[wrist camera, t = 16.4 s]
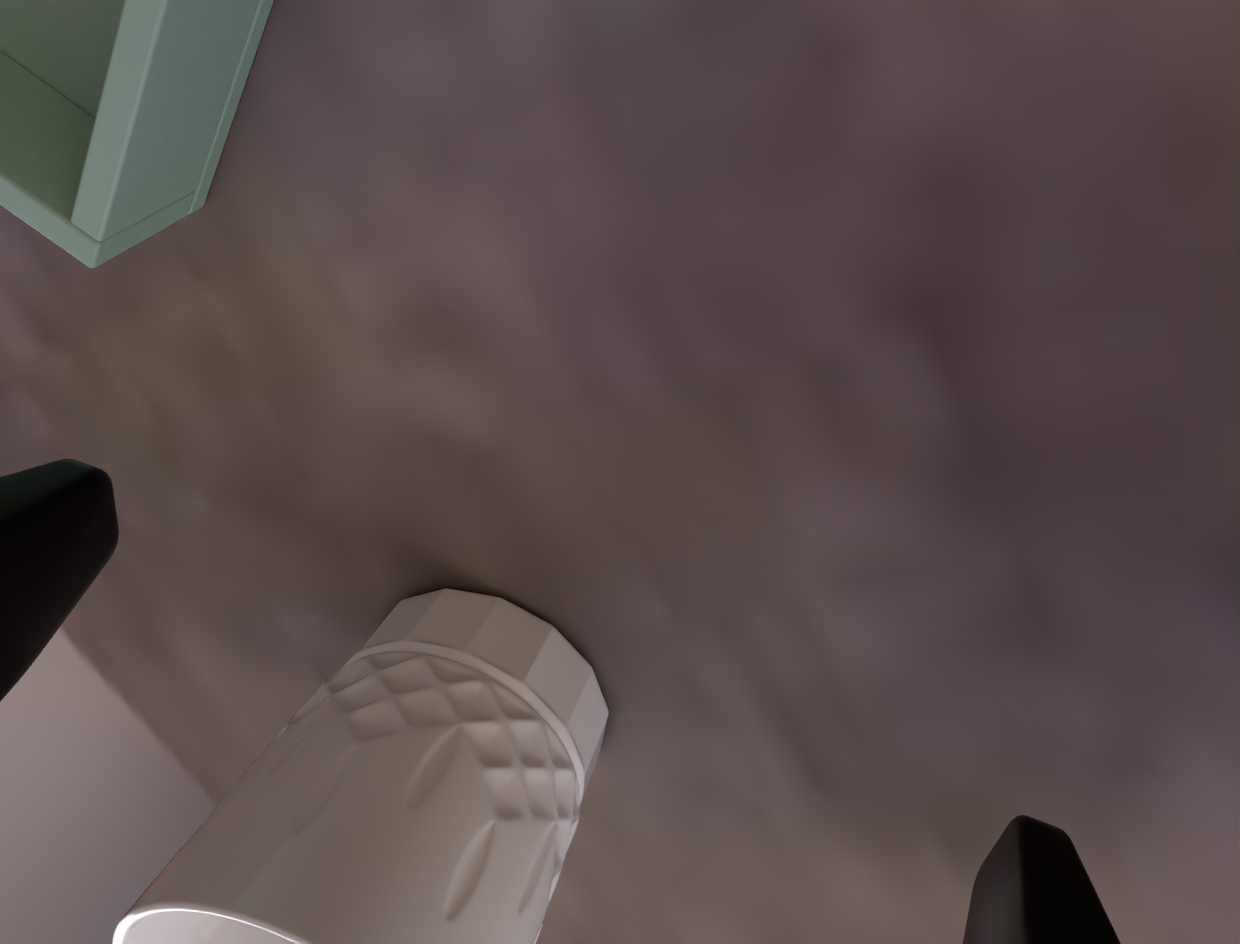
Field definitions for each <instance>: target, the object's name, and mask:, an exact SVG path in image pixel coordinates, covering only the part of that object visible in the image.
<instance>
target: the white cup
mask: <svg viewBox="0 0 1240 944" xmlns="http://www.w3.org/2000/svg"><path fill="white" fill-rule="evenodd" d="M608 715H609V711H608V708H607V705H606V703H605V700H604V697H603V695H602V692H601V689H600V687H599V684H598V681H597V679H596V676H595V673H594V671H593V668H592V667H591V665H590V664H589V663H588V662H587V661H586V660H585V659H584V658H583V657H582V656H581V655H580V654H579V652H578V651H577V650H576V649H575V648H574V647H573V646H572V645H571V644H570V643H569V642H568V641H567V640H566V639H565V638H564V637H563V635H562V634H561V633H560V632H559V631H558V630H557V629H556V628H555V627H554V626H552V625H551V624H549V623H547V622H545V621H543V620H542V619H540V618H538V617H536V616H534V615H532V614H531V613H529V612H527V611H525V610H523V609H521V608H520V607H518V606H516V605H514V604H512V603H510V602H508V601H507V600H505V599H503V598H500V597H496V596H490V595H484V594H478V593H472V592H466V591H460V590H454V589H448V588H445V589H441V590H437V591H433V592H429V593H426V594H422V595H418V596H414V597H410V598H406V599H403V600H401V601H400V602H399V603H398V604H397V605H396V606H395V607H394V609H393V610H392V611H391V612H390V613H389V615H388V616H387V617H386V618H385V619H384V621H383V622H382V623H381V624H380V625H379V627H378V628H377V629H376V630H375V631H374V633H373V634H372V635H371V636H370V637H369V639H368V640H367V641H366V642H365V643H364V645H363V646H362V647H361V648H360V650H359V651H358V652H357V653H356V654H355V655H354V656H353V657H352V658H351V659H350V660H349V661H348V662H347V663H346V664H345V665H344V666H343V667H342V669H340V670H339V671H337V672H336V673H334V674H333V675H331V676H330V677H328V678H327V679H326V680H325V682H324V683H323V684H322V685H321V687H320V688H319V689H318V691H317V692H316V693H315V695H314V696H313V697H312V698H311V699H310V700H309V701H308V702H307V703H306V704H305V705H304V706H303V707H302V708H301V709H300V710H299V711H298V712H297V713H296V714H295V715H294V716H293V717H292V718H291V720H290V721H289V722H288V724H287V725H286V726H285V727H284V729H283V730H282V731H281V733H280V734H279V735H278V737H277V738H276V739H275V740H274V741H273V742H272V743H271V744H270V745H269V746H268V747H267V748H266V749H265V750H264V751H263V752H262V753H261V754H260V755H259V756H258V757H257V758H256V759H255V760H254V761H253V763H252V764H251V765H250V766H249V768H248V769H247V770H246V771H245V773H244V774H243V775H242V777H241V778H240V779H239V780H238V782H237V783H236V784H235V785H234V787H233V788H232V789H231V790H230V791H229V793H228V794H227V795H226V796H225V797H224V799H223V800H222V801H221V802H220V803H219V805H218V806H217V807H216V808H215V809H214V811H213V812H212V813H211V814H210V816H209V817H208V818H207V819H206V820H205V821H204V822H203V824H202V825H201V826H200V827H199V828H198V830H197V831H196V832H195V833H194V835H192V837H191V838H190V839H189V840H188V841H187V842H186V843H185V845H184V846H183V847H182V848H181V849H180V850H179V851H178V852H177V854H176V855H175V856H174V857H173V858H172V860H171V861H170V862H169V863H168V864H167V866H166V867H165V868H164V869H163V870H162V872H161V873H160V874H159V875H158V876H157V877H156V879H155V880H154V881H153V882H152V883H151V885H150V886H149V887H148V888H147V889H146V890H145V892H144V893H143V894H142V895H141V896H140V898H139V899H138V900H137V901H136V902H135V904H134V905H133V906H132V907H131V908H130V910H129V911H128V912H127V913H126V914H125V915H124V916H123V918H122V919H121V920H120V921H119V923H118V924H117V927H116V929H115V931H114V934H113V940H112V944H536V942H537V940H538V937H539V934H540V931H541V929H542V926H543V923H544V918H545V913H546V910H547V907H548V904H549V902H550V899H551V897H552V895H553V892H554V889H555V887H556V884H557V881H558V879H559V876H560V873H561V870H562V867H563V864H564V859H565V856H566V853H567V850H568V848H569V846H570V843H571V841H572V838H573V835H574V833H575V830H576V827H577V824H578V821H579V817H580V803H581V801H582V798H583V795H584V793H585V790H586V788H587V785H588V783H589V780H590V777H591V775H592V772H593V770H594V767H595V765H596V762H597V759H598V757H599V754H600V751H601V746H602V742H603V737H604V733H605V728H606V724H607V719H608Z"/></svg>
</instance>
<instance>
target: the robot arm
mask: <svg viewBox="0 0 1240 944" xmlns="http://www.w3.org/2000/svg"><path fill="white" fill-rule="evenodd" d="M118 536H119V529H118V522H117V515H116V508H115V501H114V494H113V487H112V482H111V479H110V477H109V476H108V474H107V473H106V472H104V471H103V470H101V469H98V468H96V467H93V466H90V465H88V464H85V463H82V462H80V461H77V460H73V459H63V460H58V461H54V462H51V463H48V464H44V465H41V466H37V467H34V468H30V469H27V470H24V471H20V472H17V473H13V474H10V475H6V476H3V477H0V701H1V700H2V699H3V698H4V697H5V696H6V695H7V693H8V692H9V691H10V690H11V689H12V688H13V686H14V685H15V684H16V683H17V682H18V681H19V679H20V678H21V677H22V676H23V675H24V673H25V672H26V671H27V670H28V668H29V667H30V666H31V665H32V663H33V662H34V661H35V659H36V658H37V657H38V656H39V654H40V653H41V651H42V650H43V649H44V647H45V646H46V645H47V643H48V642H49V641H50V639H51V638H52V637H53V635H54V634H55V633H56V631H57V630H58V628H59V627H60V626H61V624H62V623H63V622H64V620H65V619H66V618H67V616H68V615H69V614H70V612H71V611H72V609H73V608H74V607H75V605H76V604H77V603H78V601H79V600H80V599H81V597H82V596H83V594H84V593H85V592H86V590H87V589H88V588H89V586H90V585H91V584H92V582H93V581H94V580H95V578H96V577H97V575H98V574H99V573H100V571H101V570H102V569H103V567H104V566H105V565H106V563H107V562H108V561H109V559H110V558H111V556H112V554H113V552H114V550H115V548H116V545H117V542H118ZM963 944H1121V943H1120V941H1119V939H1118V937H1117V935H1116V933H1115V931H1114V929H1113V927H1112V925H1111V922H1110V920H1109V918H1108V916H1107V914H1106V912H1105V910H1104V908H1103V906H1102V904H1101V902H1100V899H1099V897H1098V895H1097V893H1096V891H1095V889H1094V887H1093V885H1092V883H1091V881H1090V878H1089V876H1088V874H1087V872H1086V870H1085V868H1084V866H1083V864H1082V862H1081V860H1080V858H1079V855H1078V853H1077V851H1076V849H1075V847H1074V845H1073V843H1072V841H1071V839H1070V837H1069V836H1068V835H1067V834H1066V833H1065V832H1064V831H1063V830H1062V829H1060V828H1058V827H1055V826H1053V825H1050V824H1047V823H1045V822H1042V821H1039V820H1036V819H1034V818H1031V817H1028V816H1025V815H1020V816H1017V817H1015V818H1014V819H1013V820H1012V821H1011V822H1010V823H1009V825H1008V826H1007V828H1006V829H1005V831H1004V832H1003V834H1002V835H1001V837H1000V838H999V840H998V841H997V843H996V844H995V846H994V847H993V849H992V850H991V852H990V853H989V855H988V856H987V858H986V859H985V861H984V862H983V864H982V865H981V867H980V870H979V872H978V874H977V877H976V880H975V883H974V887H973V891H972V896H971V902H970V907H969V913H968V918H967V924H966V929H965V935H964V940H963Z"/></svg>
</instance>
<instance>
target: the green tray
mask: <svg viewBox="0 0 1240 944" xmlns="http://www.w3.org/2000/svg"><path fill="white" fill-rule="evenodd" d="M273 1H274V0H0V205H1V206H3V207H4V208H6V209H7V210H9V211H10V212H11V213H13V214H14V215H16V216H17V217H19V218H20V219H21V220H23V221H24V222H26V223H27V224H28V225H30V226H31V227H33V228H34V229H36V230H37V231H38V232H40V233H41V234H43V235H44V236H46V237H47V238H48V239H50V240H51V241H53V242H54V243H55V244H57V245H58V246H60V247H61V248H63V249H64V250H65V251H67V252H68V253H70V254H71V255H73V256H74V257H75V258H77V259H78V260H80V261H81V262H83V263H84V264H85V265H87V266H88V267H90V268H95V267H97V266H99V265H101V264H102V263H104V262H106V261H108V260H109V259H111V258H113V257H115V256H117V255H118V254H120V253H122V252H124V251H125V250H127V249H129V248H131V247H132V246H134V245H136V244H138V243H139V242H141V241H143V240H145V239H146V238H148V237H150V236H152V235H153V234H155V233H157V232H159V231H160V230H162V229H164V228H166V227H167V226H169V225H171V224H173V223H174V222H176V221H178V220H180V219H181V218H183V217H185V216H187V215H188V213H189V214H191V213H193V212H195V211H197V210H198V209H200V208H202V207H203V205H204V203H205V200H206V197H207V194H208V191H209V188H210V185H211V182H212V179H213V176H214V173H215V171H216V168H217V165H218V162H219V159H220V156H221V153H222V150H223V147H224V144H225V141H226V138H227V136H228V133H229V130H230V127H231V124H232V121H233V118H234V115H235V112H236V109H237V106H238V103H239V101H240V98H241V95H242V92H243V89H244V86H245V83H246V80H247V77H248V74H249V71H250V69H251V66H252V63H253V60H254V57H255V54H256V51H257V48H258V45H259V42H260V39H261V36H262V34H263V31H264V28H265V25H266V22H267V19H268V16H269V13H270V10H271V7H272V4H273Z"/></svg>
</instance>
